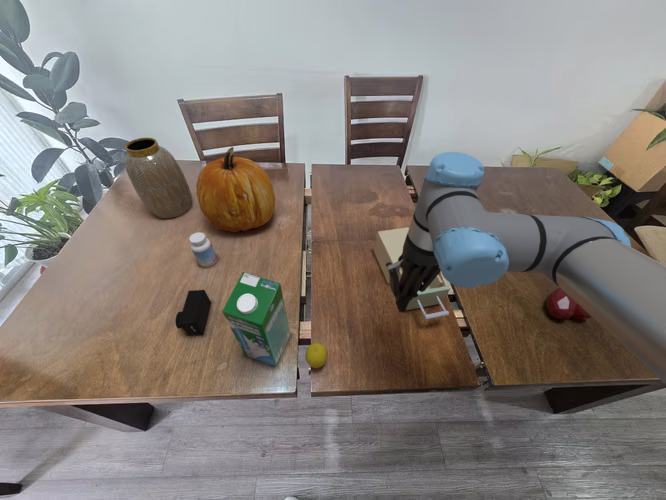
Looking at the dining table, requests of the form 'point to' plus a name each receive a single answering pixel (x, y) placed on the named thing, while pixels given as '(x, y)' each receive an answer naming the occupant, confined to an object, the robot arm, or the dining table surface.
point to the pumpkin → (235, 193)
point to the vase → (157, 178)
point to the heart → (564, 306)
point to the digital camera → (194, 313)
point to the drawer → (429, 298)
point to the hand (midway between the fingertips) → (400, 306)
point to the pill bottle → (202, 249)
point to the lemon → (316, 355)
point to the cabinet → (389, 247)
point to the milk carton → (258, 318)
